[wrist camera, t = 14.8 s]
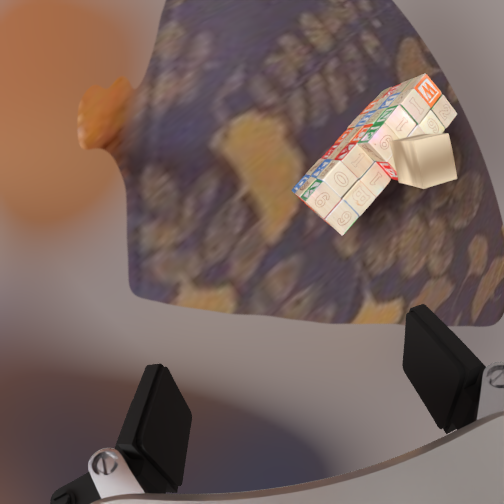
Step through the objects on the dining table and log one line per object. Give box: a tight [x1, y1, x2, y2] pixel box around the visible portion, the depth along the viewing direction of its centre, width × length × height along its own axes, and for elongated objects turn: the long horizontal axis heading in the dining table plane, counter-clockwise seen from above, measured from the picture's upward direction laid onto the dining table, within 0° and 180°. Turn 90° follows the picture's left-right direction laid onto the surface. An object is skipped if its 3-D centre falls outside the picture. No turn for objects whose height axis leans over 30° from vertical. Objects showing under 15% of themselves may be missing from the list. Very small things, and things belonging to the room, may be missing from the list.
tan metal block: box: [389, 133, 457, 189], centre depth 25 cm, size 4×4×5 cm
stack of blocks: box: [292, 74, 457, 235], centre depth 33 cm, size 21×6×12 cm, turn 139°
